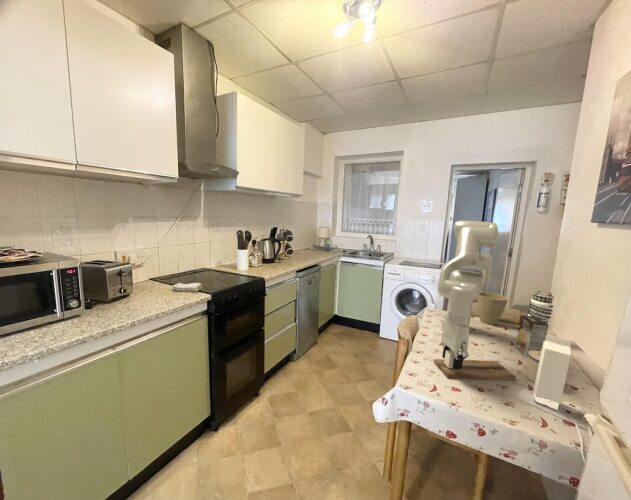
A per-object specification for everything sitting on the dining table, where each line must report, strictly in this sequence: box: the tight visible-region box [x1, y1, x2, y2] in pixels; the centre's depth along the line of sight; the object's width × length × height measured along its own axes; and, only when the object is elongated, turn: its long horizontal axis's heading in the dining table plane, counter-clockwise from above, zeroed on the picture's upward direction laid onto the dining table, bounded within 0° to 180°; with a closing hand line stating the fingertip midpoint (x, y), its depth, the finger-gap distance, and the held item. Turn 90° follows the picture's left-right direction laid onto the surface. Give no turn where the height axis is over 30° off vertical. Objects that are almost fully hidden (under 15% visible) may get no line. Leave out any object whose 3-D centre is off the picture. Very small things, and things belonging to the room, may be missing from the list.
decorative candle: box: [527, 290, 555, 325], centre depth 131 cm, size 9×9×25 cm
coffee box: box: [515, 315, 550, 358], centre depth 117 cm, size 9×6×16 cm
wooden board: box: [433, 358, 517, 381], centre depth 101 cm, size 10×26×2 cm, turn 93°
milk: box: [532, 335, 572, 405], centre depth 84 cm, size 6×6×22 cm
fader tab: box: [444, 350, 461, 368], centre depth 100 cm, size 3×4×6 cm
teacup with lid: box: [524, 350, 542, 383], centre depth 99 cm, size 12×9×12 cm
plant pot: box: [476, 291, 509, 326], centre depth 151 cm, size 15×15×16 cm
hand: (451, 362), depth 100 cm, fingers open, 6 cm apart
